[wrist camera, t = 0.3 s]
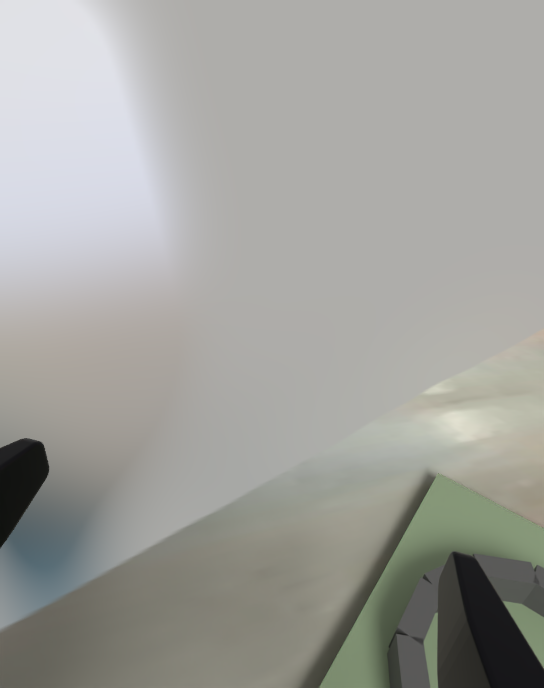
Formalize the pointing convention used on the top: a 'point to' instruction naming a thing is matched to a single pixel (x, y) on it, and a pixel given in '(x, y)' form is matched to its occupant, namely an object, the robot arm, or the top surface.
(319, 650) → the top surface
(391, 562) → the green base with ring
